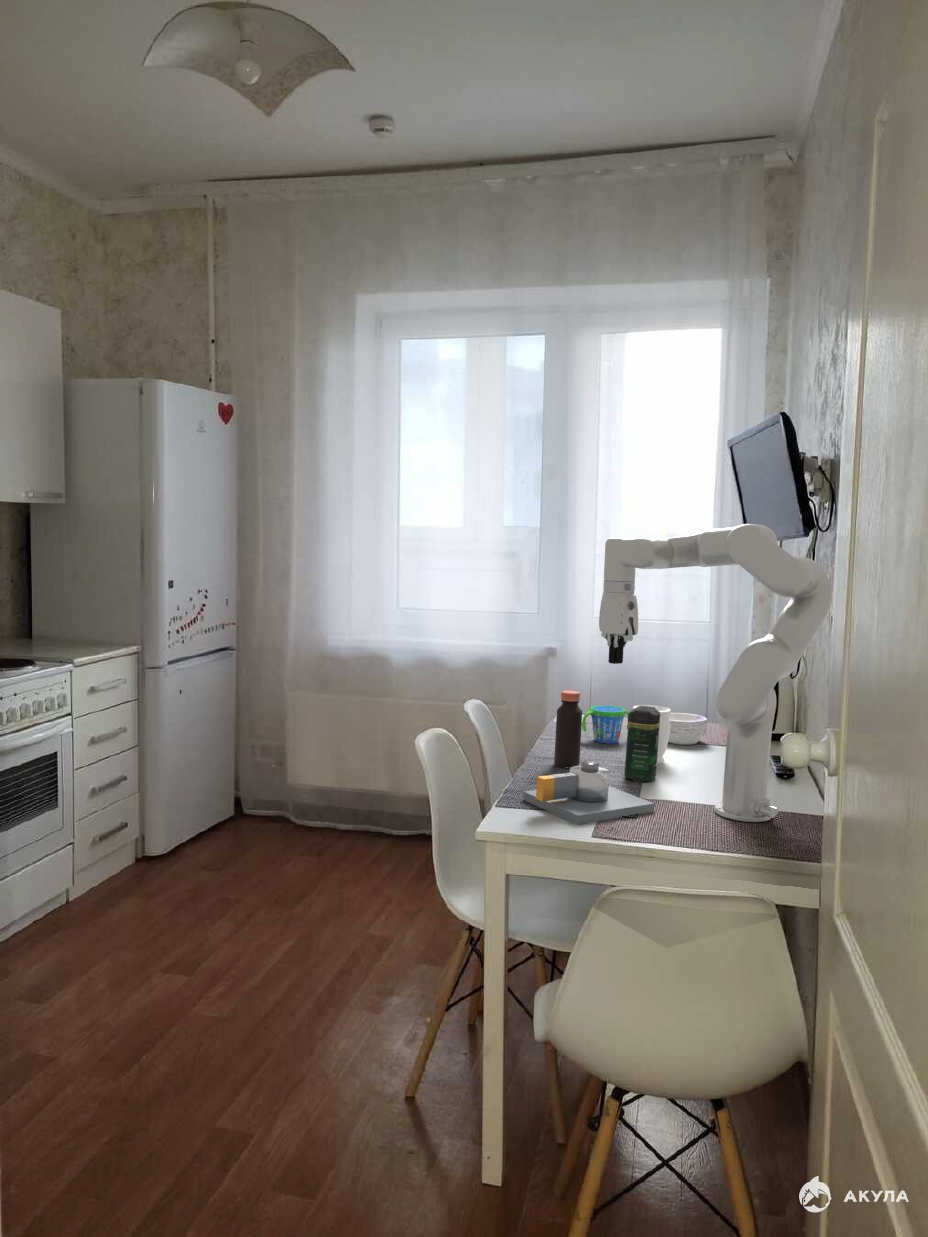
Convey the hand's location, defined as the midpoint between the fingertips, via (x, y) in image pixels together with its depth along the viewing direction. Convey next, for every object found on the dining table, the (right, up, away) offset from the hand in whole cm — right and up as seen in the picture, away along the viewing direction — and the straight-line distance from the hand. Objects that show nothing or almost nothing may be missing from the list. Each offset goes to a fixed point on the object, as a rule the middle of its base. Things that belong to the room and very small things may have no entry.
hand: (615, 663), depth 229 cm
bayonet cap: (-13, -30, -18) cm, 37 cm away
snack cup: (+6, -27, +54) cm, 60 cm away
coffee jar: (+8, -31, +12) cm, 34 cm away
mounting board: (-9, -32, -15) cm, 37 cm away
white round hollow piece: (+29, -27, +58) cm, 70 cm away
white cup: (+14, -29, +31) cm, 45 cm away
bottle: (-10, -29, +22) cm, 37 cm away
